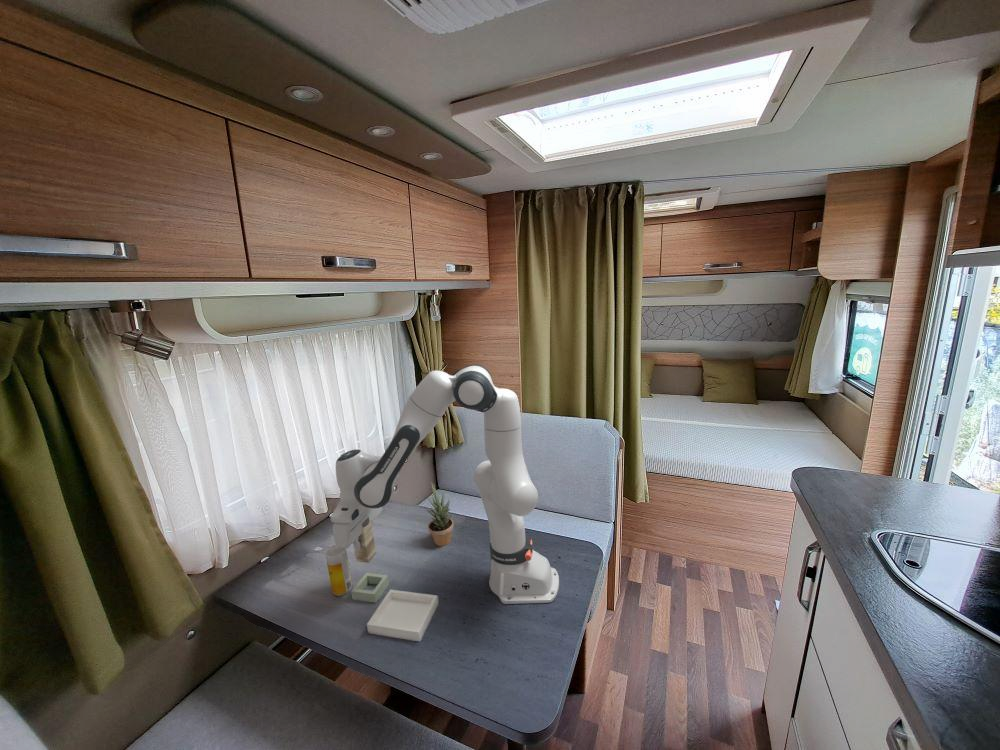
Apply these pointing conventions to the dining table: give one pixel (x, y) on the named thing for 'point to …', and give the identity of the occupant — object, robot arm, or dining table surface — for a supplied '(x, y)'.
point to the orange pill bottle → (338, 570)
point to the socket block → (368, 595)
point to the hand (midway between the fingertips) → (363, 541)
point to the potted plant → (440, 520)
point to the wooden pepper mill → (366, 543)
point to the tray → (403, 615)
